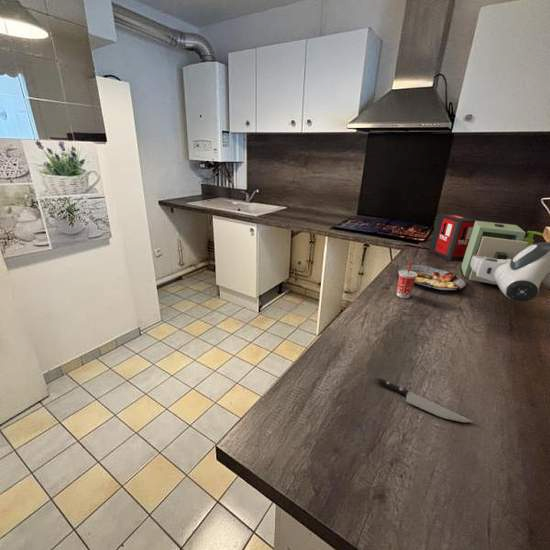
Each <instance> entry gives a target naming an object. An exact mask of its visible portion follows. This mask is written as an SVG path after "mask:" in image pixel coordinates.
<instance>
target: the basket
mask: <svg viewBox="0 0 550 550" xmlns="http://www.w3.org/2000/svg"><path fill="white" fill-rule="evenodd" d="M527 244H528V242H524V241H516V240H508V239H500V238H492V237H484V236H483V238H482V241H481V244H480V247H478V250H477V253H476V256H482V257H484V256H488V257H490V258H495V259H504V260H506V259H512V258H513V257H514V256H515V255H516V254H517V253H518V252H519V251H520V250H522V249H523V248H525V247H526V246H527ZM470 272H471V274H470V277H469V278H468V280H469V281H474V282H480V283H486V284H491V285H497V286H498V284H496V283H494V282H492V281H490V280H487V279H483V278H480V277H477V276H476V272H475V271H473V269H472V268H471V271H470Z"/></svg>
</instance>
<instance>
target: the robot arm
mask: <svg viewBox="0 0 550 550" xmlns="http://www.w3.org/2000/svg"><path fill="white" fill-rule="evenodd" d="M470 266H471V268H472V269H473V271H475V272H476V276H477V277H480V278H483V279H487V280H490V281H492V282H494V283H496V284H498V285H497V286H498V288H499V290H500V291H501V293H502V294H503V295H504V296H505V297H506V298H508V299H509V300H511V301H514V302H521V303H522V302H529V301H532V300H535V299H536V297H537V296H538V295H539V293H540V287H541V284H542V285H543V286H544V287H545V288H546V289H547V290H548V291H550V241H549V242H548V241H544V242H543V241H542V242H535V243H533V244H531V245H528V246H526V247H525V248H523V249H522V250H520V251H519V252H518V253H517V254H516V255H515V256H514V257H513V258H512V259H506V260H504V259H495V258H490V257H488V256H484V257H482V256H473V257H472V259H471V262H470ZM496 284H495V285H496Z"/></svg>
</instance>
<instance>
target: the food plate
mask: <svg viewBox="0 0 550 550" xmlns="http://www.w3.org/2000/svg"><path fill="white" fill-rule="evenodd" d="M409 265H410V264H409ZM409 265H408V264H407V265H403V266H400V268H399V269H398V270H397V272H398V274H399V271H400V270H408V269H409ZM410 271H413V272H415V273H417V278H416V279H415V282H414V284H417V285H421V286H424V287H428V288H433V289H436V290H440V291H448V292H449V291H450V292H451V291H459V290H463V289H464V288H465V287H466V286H467V283H466V281H465V280H464V279H463V278H462V277H461V276H459V275H457V274H456V273H453V272H451V271H448V270H444V269H440V268H435V267H433V266H432V267H431V266H427V265H418V264H417V265H416V264H413V265H412V264H411V267H410Z"/></svg>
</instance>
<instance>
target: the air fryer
mask: <svg viewBox="0 0 550 550" xmlns="http://www.w3.org/2000/svg"><path fill="white" fill-rule="evenodd" d="M526 233H527V232H526V231H524V230H523V229H522V228H521V227H520V226H518V225H517V224H510V223H500V222H491V221H483V220H477V221H475V224H474V227H473V230H472V234H471V237H470V240H469V243H468V247H467V250H466V253H465V256H464V259H463V260H462V263H461V270H462V274H463V277H464V278H468V279H469V277H470V274H471V272H470V271H471V266H470V262H471V259H472V257H473V256H476V253H477V250H478V247H480V244H481V241H482V238H483V236H484V237H492V238H500V239H508V240H516V241H523V240H524V238H525V235H526Z"/></svg>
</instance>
